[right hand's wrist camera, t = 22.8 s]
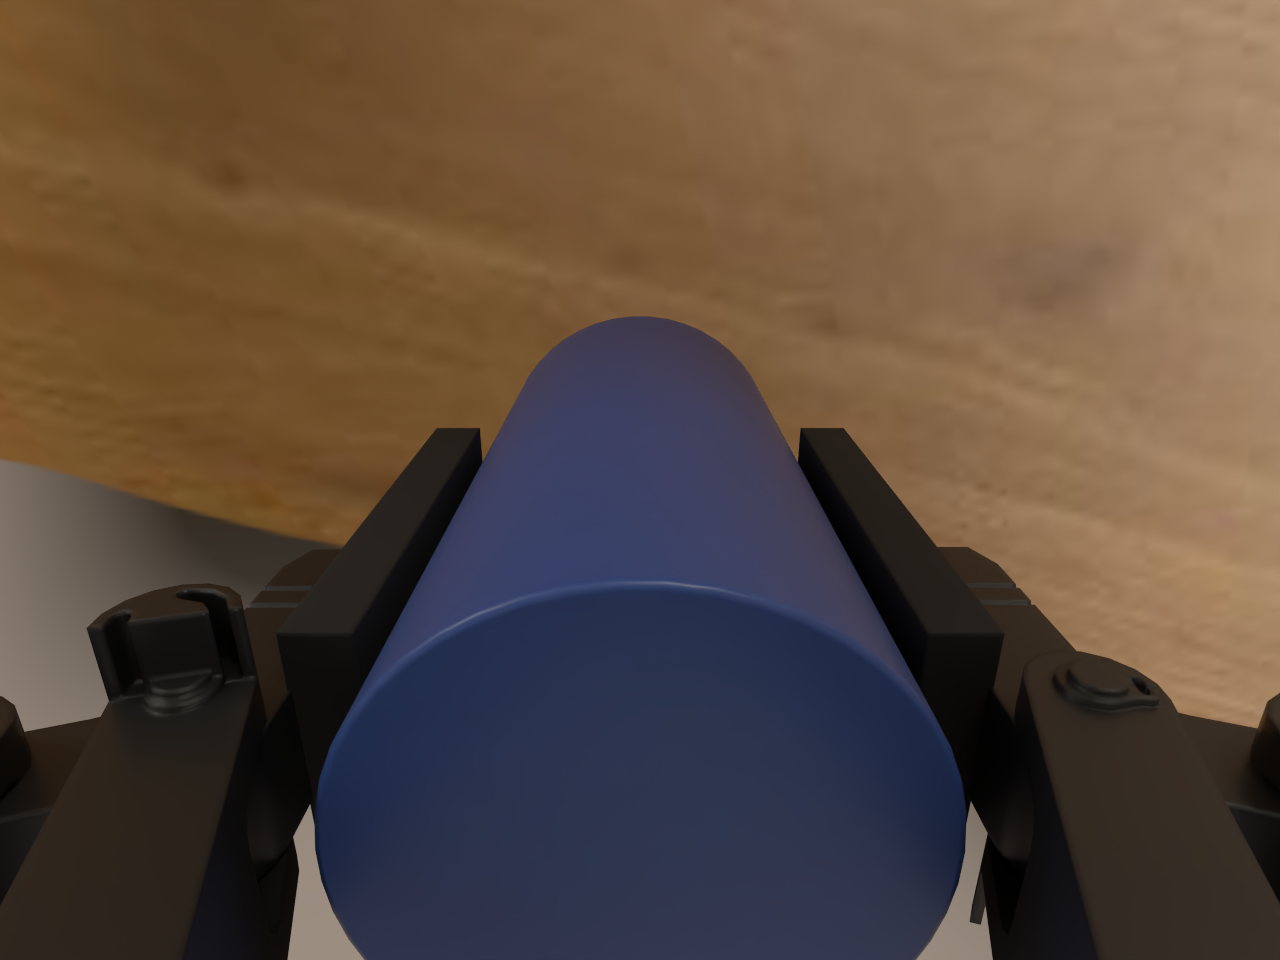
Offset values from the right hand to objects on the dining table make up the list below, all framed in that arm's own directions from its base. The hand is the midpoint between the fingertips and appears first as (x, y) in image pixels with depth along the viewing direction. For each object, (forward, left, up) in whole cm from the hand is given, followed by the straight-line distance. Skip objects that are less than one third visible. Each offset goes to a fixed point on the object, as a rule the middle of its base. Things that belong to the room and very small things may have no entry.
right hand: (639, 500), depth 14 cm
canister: (0, 0, -3) cm, 3 cm away
